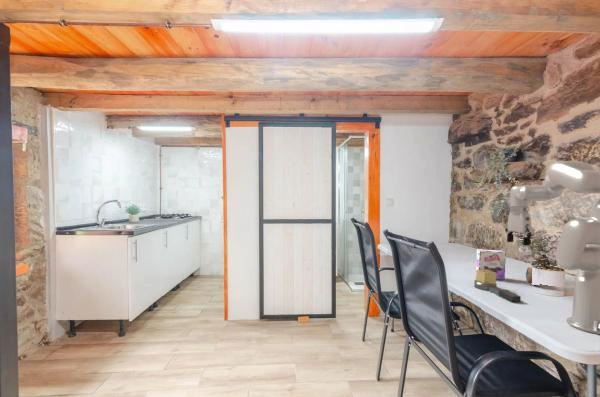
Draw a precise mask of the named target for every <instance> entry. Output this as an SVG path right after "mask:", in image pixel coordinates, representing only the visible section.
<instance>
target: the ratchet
mask: <svg viewBox="0 0 600 397" xmlns="http://www.w3.org/2000/svg"><path fill="white" fill-rule="evenodd" d="M474 288H476V289H477V290H481V291H486V292H489V291H490V292H489V293H492V294H493V293H494V295H495V294H496V296H498V297H500V298H502V299H504V300H505V299H506V301H508V302H510V303H521V298H522V297H521V296H520V295H519V294H516V293H514V292H512V291H510V290H506V289H503V288H500V287H499V286H498V285H497V283H496V284H482V283H480V282H478V281H476V279H474Z"/></svg>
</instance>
